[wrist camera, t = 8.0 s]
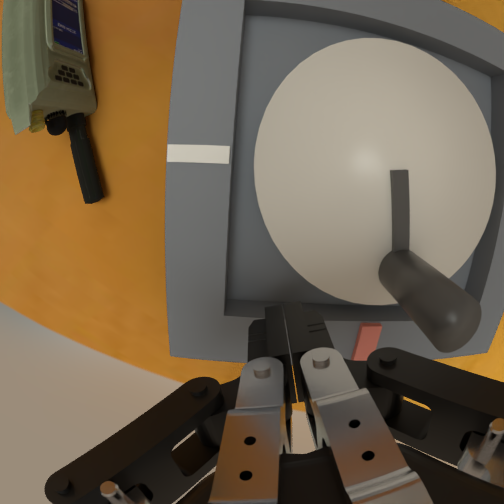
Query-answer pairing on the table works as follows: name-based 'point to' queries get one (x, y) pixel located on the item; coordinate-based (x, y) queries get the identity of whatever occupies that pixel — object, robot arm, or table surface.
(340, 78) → the dial
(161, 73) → the table surface
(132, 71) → the table surface
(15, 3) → the handheld radio
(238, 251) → the panel
